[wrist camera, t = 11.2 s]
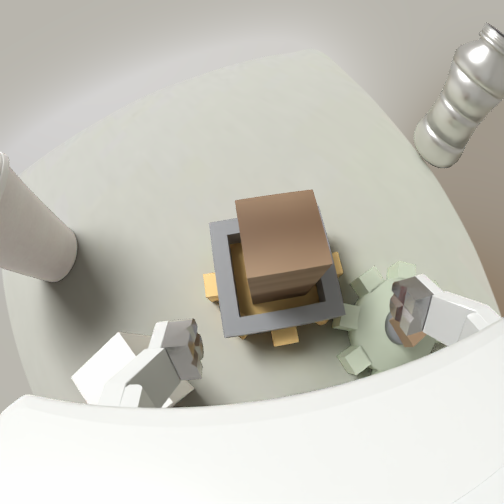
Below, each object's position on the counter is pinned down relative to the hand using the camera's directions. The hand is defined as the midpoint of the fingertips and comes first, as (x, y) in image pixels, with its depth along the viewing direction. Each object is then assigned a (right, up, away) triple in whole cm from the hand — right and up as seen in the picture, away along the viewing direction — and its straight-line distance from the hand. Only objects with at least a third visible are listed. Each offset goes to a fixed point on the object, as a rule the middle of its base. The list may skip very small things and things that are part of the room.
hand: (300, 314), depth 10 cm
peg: (0, +1, +11) cm, 11 cm away
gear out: (0, 0, +13) cm, 13 cm away
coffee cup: (-24, +2, +15) cm, 28 cm away
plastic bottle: (+21, +15, +17) cm, 31 cm away
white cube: (-11, -9, +11) cm, 18 cm away
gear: (+10, -4, +11) cm, 16 cm away
